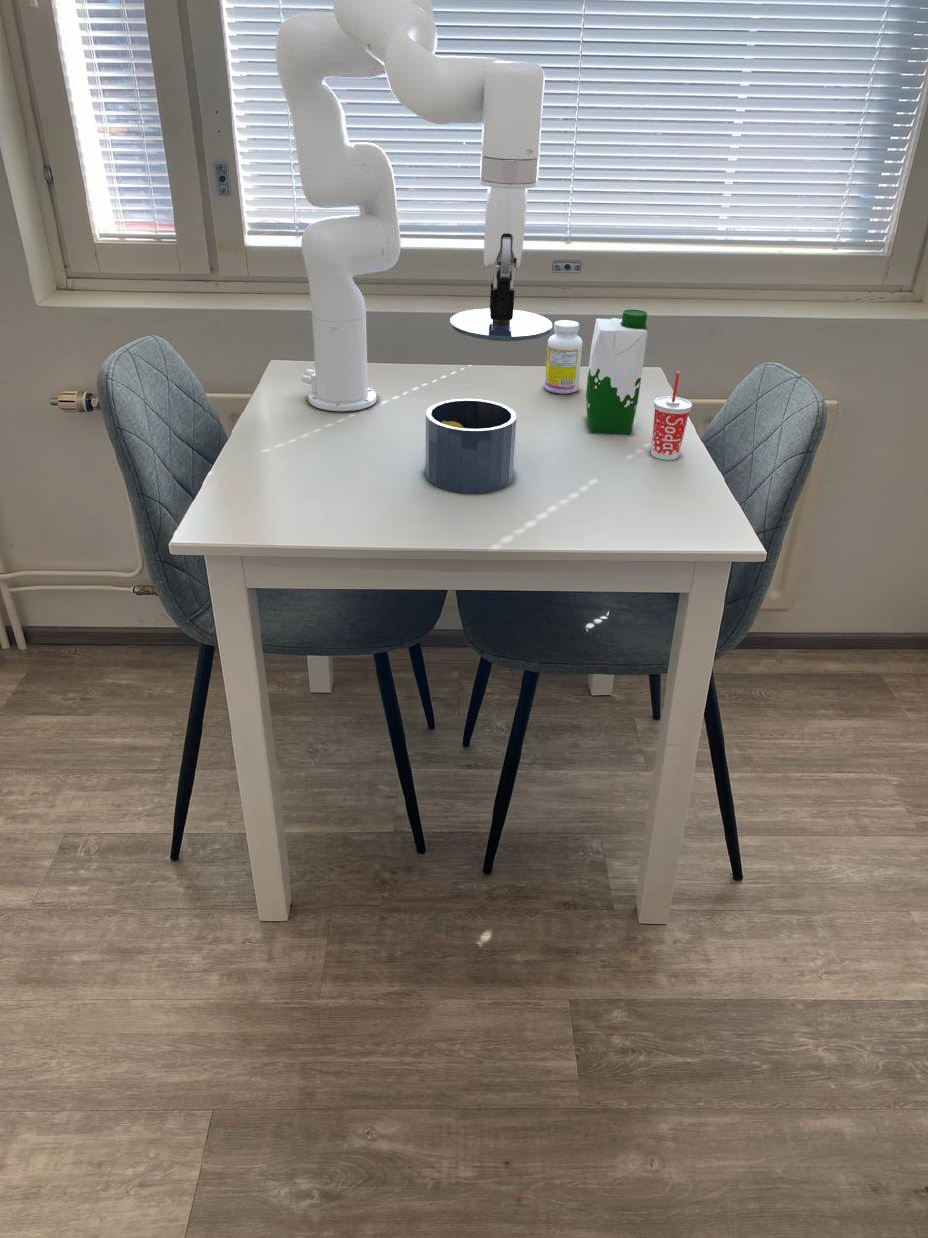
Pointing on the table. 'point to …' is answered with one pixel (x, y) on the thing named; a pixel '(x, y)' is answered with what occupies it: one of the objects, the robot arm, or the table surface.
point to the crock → (470, 446)
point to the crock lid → (501, 325)
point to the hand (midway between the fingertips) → (501, 314)
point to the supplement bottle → (563, 358)
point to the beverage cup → (669, 425)
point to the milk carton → (615, 372)
